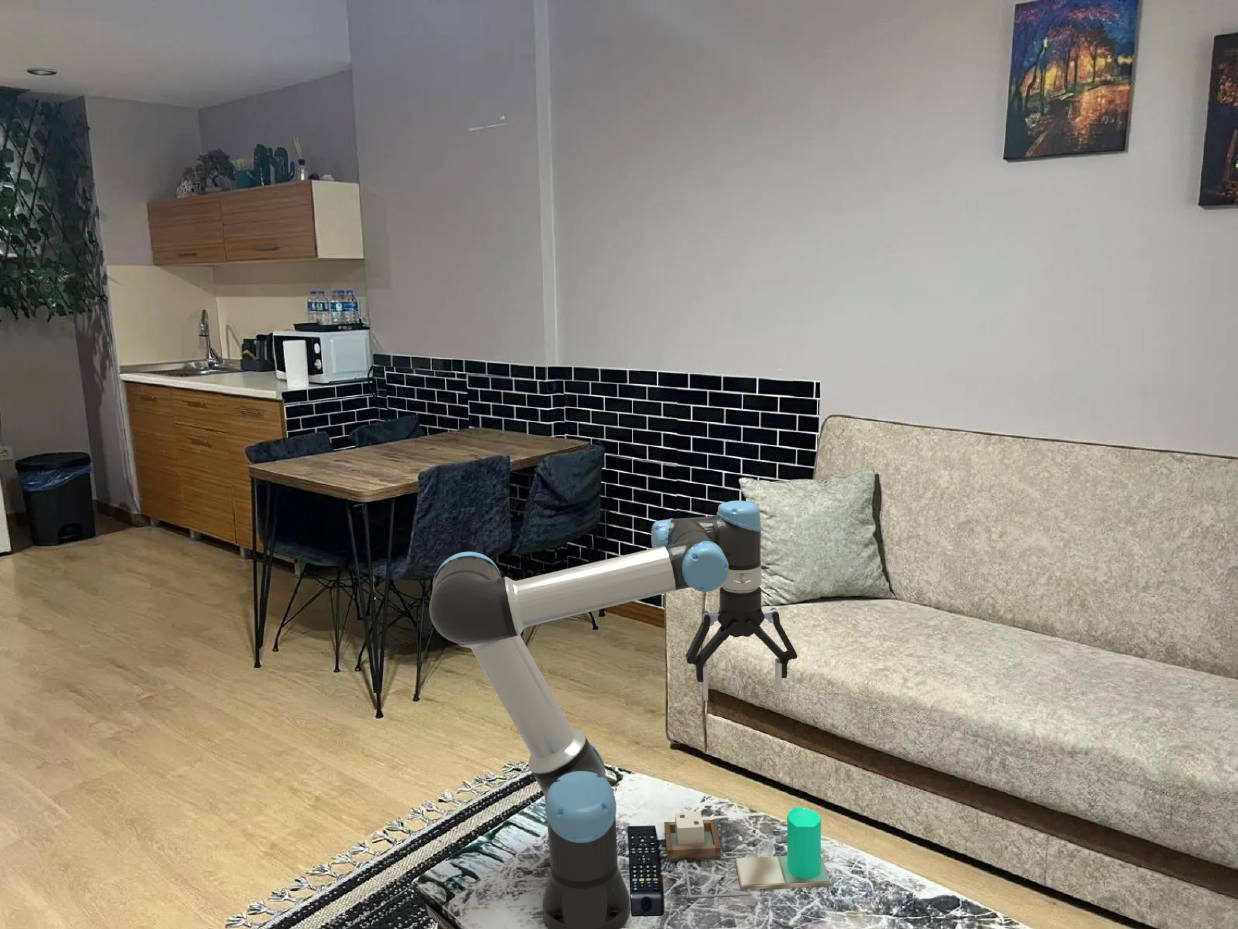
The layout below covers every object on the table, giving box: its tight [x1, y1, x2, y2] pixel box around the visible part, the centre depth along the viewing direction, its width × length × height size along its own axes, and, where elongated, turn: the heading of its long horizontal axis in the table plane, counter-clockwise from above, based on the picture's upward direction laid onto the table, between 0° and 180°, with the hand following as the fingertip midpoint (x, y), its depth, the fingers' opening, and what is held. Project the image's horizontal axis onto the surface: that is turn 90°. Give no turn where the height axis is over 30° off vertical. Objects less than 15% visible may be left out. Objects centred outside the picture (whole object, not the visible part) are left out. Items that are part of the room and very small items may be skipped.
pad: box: [683, 855, 752, 899], centre depth 167 cm, size 11×11×1 cm
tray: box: [663, 819, 722, 862], centre depth 176 cm, size 10×9×2 cm
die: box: [674, 811, 704, 846], centre depth 176 cm, size 5×5×5 cm
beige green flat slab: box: [734, 855, 832, 891], centre depth 167 cm, size 16×8×1 cm, turn 91°
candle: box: [786, 806, 822, 879], centre depth 166 cm, size 6×6×12 cm
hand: (741, 695), depth 170 cm, fingers open, 13 cm apart
